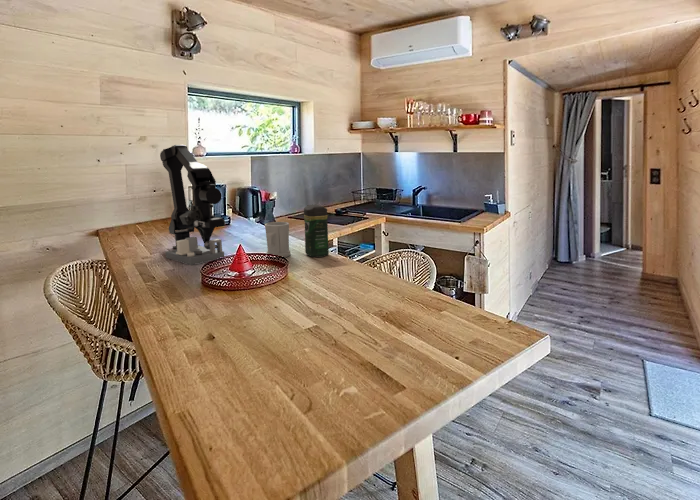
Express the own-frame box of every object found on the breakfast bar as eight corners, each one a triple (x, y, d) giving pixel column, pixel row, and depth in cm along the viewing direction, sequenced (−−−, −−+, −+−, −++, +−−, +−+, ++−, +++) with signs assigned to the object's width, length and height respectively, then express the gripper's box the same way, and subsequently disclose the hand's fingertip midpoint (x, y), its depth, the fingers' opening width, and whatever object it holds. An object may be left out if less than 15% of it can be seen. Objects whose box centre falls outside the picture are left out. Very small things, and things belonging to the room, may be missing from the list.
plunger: (204, 249, 172) (203, 241, 172) (211, 248, 175) (211, 239, 174) (212, 251, 169) (211, 243, 168) (220, 250, 171) (219, 241, 170)
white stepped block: (184, 250, 173) (183, 237, 172) (194, 248, 175) (193, 236, 174) (190, 252, 170) (189, 239, 169) (199, 250, 173) (198, 237, 172)
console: (165, 257, 174) (163, 239, 172) (198, 251, 183) (197, 233, 182) (190, 265, 162) (188, 245, 160) (224, 257, 172) (223, 239, 170)
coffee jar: (331, 256, 170) (330, 205, 166) (311, 258, 167) (308, 207, 163) (322, 251, 179) (321, 202, 175) (303, 253, 176) (300, 204, 172)
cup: (293, 258, 169) (291, 225, 166) (268, 260, 166) (266, 227, 164) (288, 252, 179) (287, 221, 176) (264, 254, 176) (262, 222, 173)
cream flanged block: (175, 253, 168) (174, 240, 167) (185, 251, 171) (184, 238, 170) (181, 255, 165) (180, 241, 164) (191, 253, 168) (190, 240, 167)
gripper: (168, 203, 171) (173, 244, 174) (195, 206, 158) (199, 251, 162) (196, 200, 179) (200, 240, 182) (224, 202, 166) (227, 245, 170)
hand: (206, 244), depth 174 cm, fingers closed
